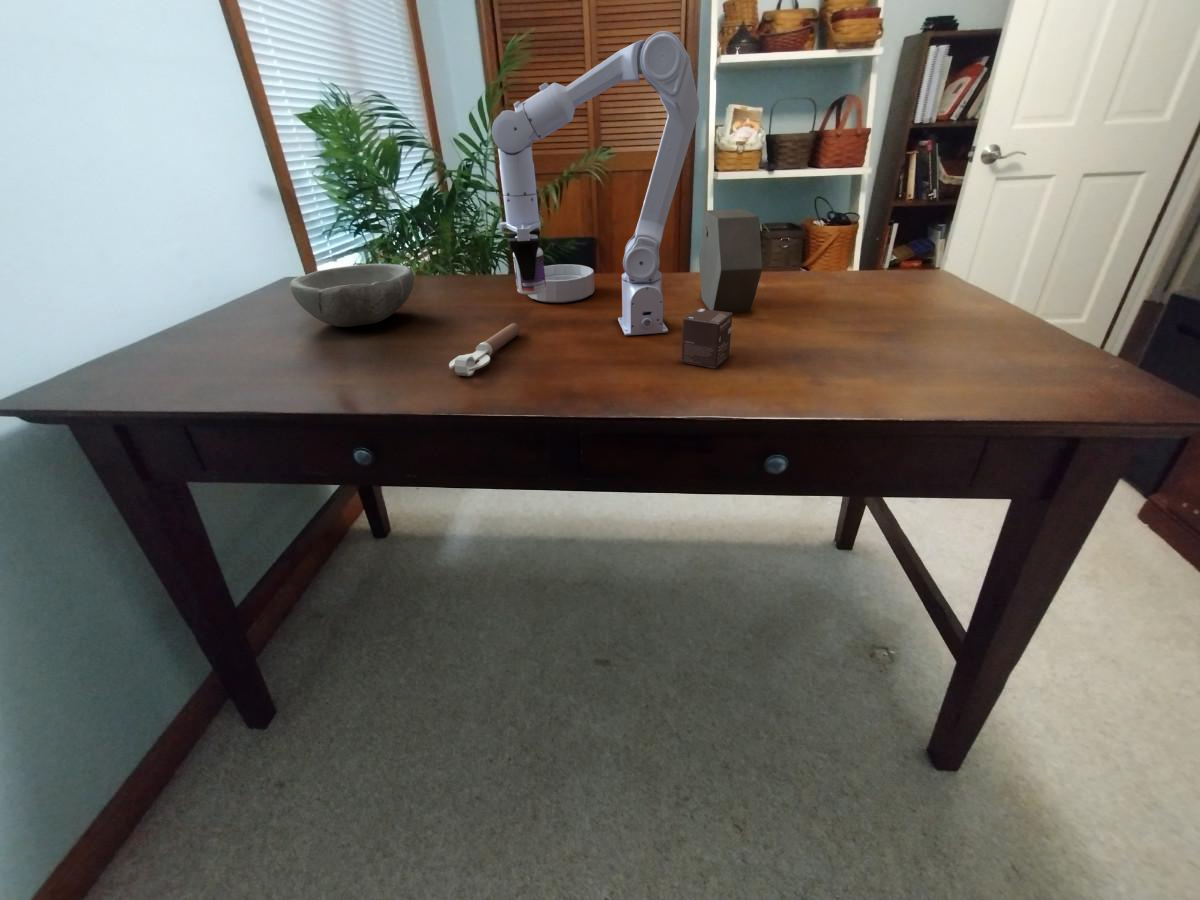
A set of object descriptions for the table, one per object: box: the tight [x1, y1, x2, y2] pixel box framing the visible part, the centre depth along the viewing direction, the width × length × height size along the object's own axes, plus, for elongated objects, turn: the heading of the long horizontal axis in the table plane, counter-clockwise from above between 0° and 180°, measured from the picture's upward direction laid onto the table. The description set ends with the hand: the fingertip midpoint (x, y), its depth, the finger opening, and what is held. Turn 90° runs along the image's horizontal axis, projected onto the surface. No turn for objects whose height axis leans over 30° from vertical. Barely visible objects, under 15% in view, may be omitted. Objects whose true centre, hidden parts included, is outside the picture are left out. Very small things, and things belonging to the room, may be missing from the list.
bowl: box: [289, 263, 415, 328], centre depth 109 cm, size 23×22×10 cm
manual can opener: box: [448, 322, 521, 377], centre depth 92 cm, size 21×6×3 cm, turn 167°
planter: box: [698, 208, 763, 313], centre depth 108 cm, size 17×8×21 cm
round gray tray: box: [527, 263, 595, 304], centre depth 122 cm, size 15×15×5 cm
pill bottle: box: [512, 234, 546, 296], centre depth 99 cm, size 5×5×10 cm
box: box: [680, 308, 734, 369], centre depth 85 cm, size 6×6×7 cm
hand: (528, 275), depth 100 cm, fingers closed on pill bottle, 5 cm apart
